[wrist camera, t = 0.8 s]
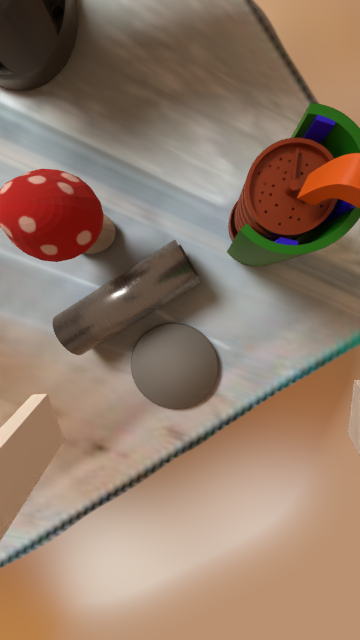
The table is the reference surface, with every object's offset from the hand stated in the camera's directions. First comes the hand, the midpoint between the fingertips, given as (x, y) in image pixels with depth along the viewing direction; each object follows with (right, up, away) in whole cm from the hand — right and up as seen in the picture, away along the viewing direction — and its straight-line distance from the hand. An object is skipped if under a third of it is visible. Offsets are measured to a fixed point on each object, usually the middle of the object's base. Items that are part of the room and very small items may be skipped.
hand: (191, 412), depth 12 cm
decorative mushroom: (-12, +16, +25) cm, 32 cm away
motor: (+10, +16, +23) cm, 30 cm away
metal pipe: (-7, +7, +26) cm, 28 cm away
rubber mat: (-1, -2, +27) cm, 27 cm away
